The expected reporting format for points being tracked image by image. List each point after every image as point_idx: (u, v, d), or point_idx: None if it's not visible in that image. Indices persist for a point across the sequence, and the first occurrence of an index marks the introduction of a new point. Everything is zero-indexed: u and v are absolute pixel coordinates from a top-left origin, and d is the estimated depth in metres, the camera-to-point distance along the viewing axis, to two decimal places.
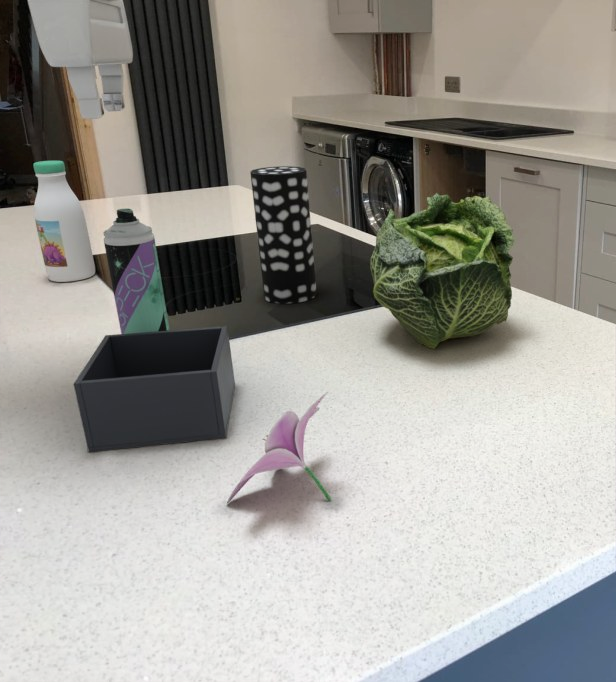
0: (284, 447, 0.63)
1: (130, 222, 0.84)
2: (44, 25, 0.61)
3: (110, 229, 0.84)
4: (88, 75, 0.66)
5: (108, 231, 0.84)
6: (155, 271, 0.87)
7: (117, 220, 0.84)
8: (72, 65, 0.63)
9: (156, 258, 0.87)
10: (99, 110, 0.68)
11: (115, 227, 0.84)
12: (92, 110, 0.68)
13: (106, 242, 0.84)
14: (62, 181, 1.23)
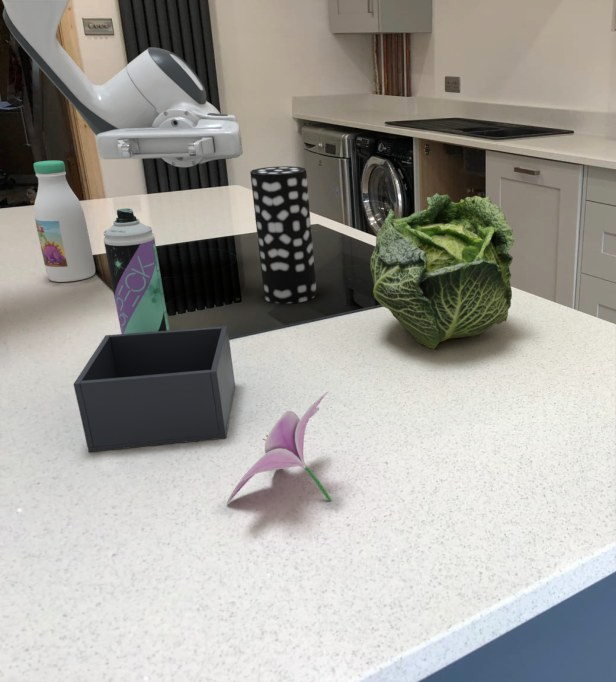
0: (284, 447, 0.63)
1: (130, 222, 0.84)
2: (239, 132, 1.10)
3: (110, 229, 0.84)
4: (213, 150, 1.06)
5: (108, 231, 0.84)
6: (155, 271, 0.87)
7: (117, 220, 0.84)
8: (234, 145, 1.07)
9: (156, 258, 0.87)
10: (200, 154, 1.03)
11: (115, 227, 0.84)
12: (200, 150, 1.03)
13: (106, 242, 0.84)
14: (62, 181, 1.23)
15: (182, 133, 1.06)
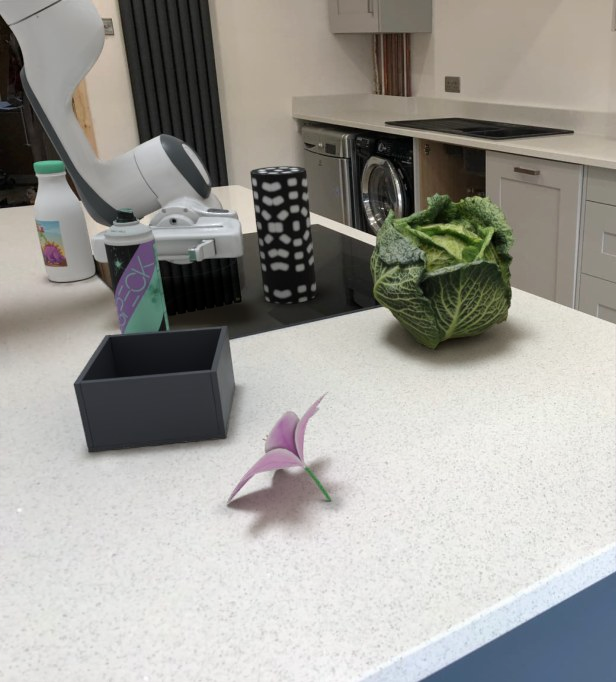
0: (284, 447, 0.63)
1: (130, 222, 0.84)
2: (241, 231, 1.05)
3: (110, 229, 0.84)
4: (214, 252, 1.02)
5: (108, 231, 0.84)
6: (155, 271, 0.87)
7: (117, 220, 0.84)
8: (236, 247, 1.03)
9: (156, 258, 0.87)
10: (201, 260, 0.99)
11: (115, 227, 0.84)
12: (201, 255, 0.99)
13: (106, 242, 0.84)
14: (62, 181, 1.23)
15: (182, 235, 1.01)
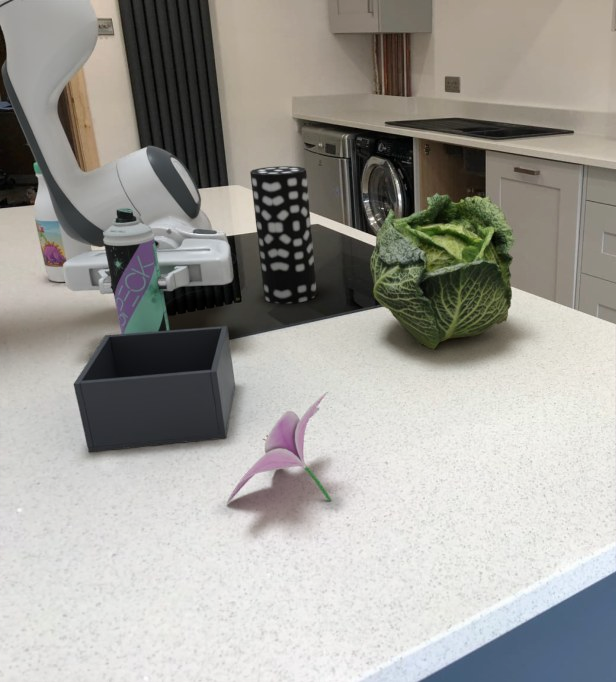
0: (284, 447, 0.63)
1: (130, 222, 0.84)
2: (230, 256, 0.95)
3: (110, 229, 0.84)
4: (187, 280, 0.92)
5: (108, 231, 0.84)
6: (155, 271, 0.87)
7: (117, 220, 0.84)
8: (224, 273, 0.93)
9: (156, 258, 0.87)
10: (172, 289, 0.89)
11: (115, 227, 0.84)
12: (172, 284, 0.88)
13: (106, 242, 0.84)
14: None
15: (163, 261, 0.91)
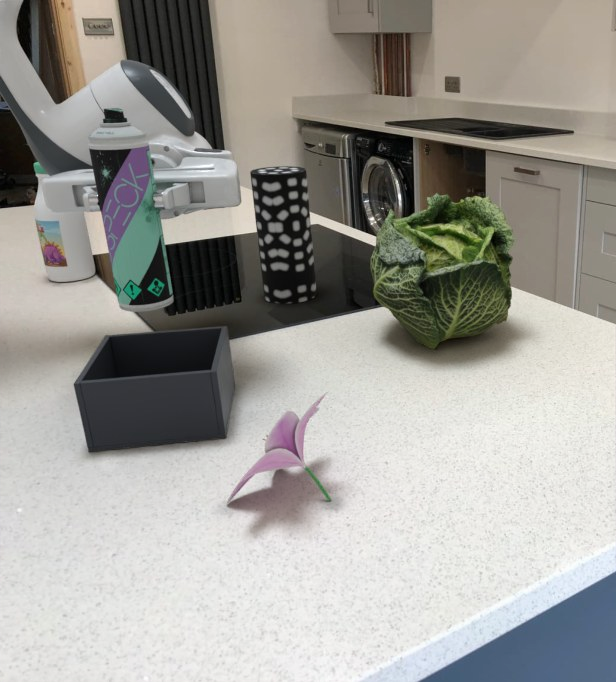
0: (284, 447, 0.63)
1: (120, 123, 0.71)
2: (238, 175, 0.82)
3: (96, 131, 0.71)
4: (188, 200, 0.78)
5: (93, 133, 0.71)
6: (150, 184, 0.73)
7: (104, 120, 0.71)
8: (231, 193, 0.79)
9: (151, 169, 0.74)
10: (171, 208, 0.75)
11: (102, 128, 0.71)
12: (170, 202, 0.75)
13: (91, 146, 0.71)
14: None
15: (160, 177, 0.78)
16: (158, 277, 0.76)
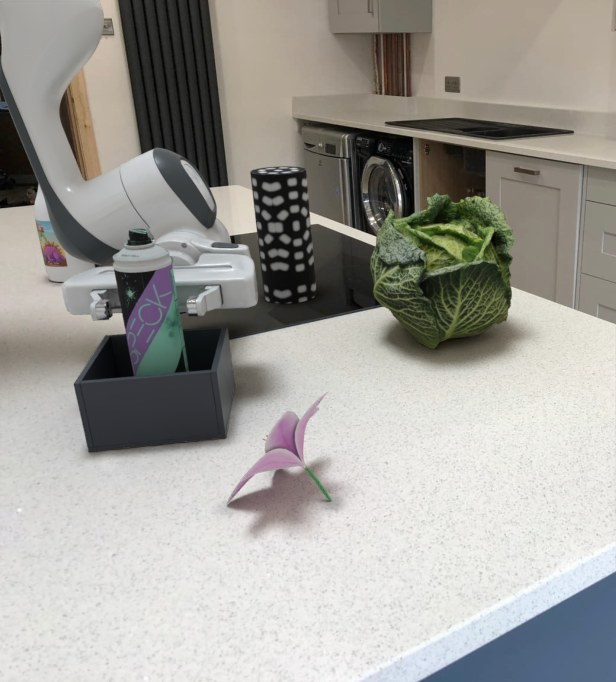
0: (284, 447, 0.63)
1: (144, 245, 0.72)
2: (255, 274, 0.82)
3: (121, 253, 0.72)
4: (220, 302, 0.79)
5: (118, 255, 0.72)
6: (173, 300, 0.75)
7: (129, 242, 0.72)
8: (248, 295, 0.80)
9: (174, 286, 0.75)
10: None
11: (127, 251, 0.72)
12: (203, 308, 0.76)
13: (116, 268, 0.72)
14: None
15: (179, 281, 0.79)
16: None
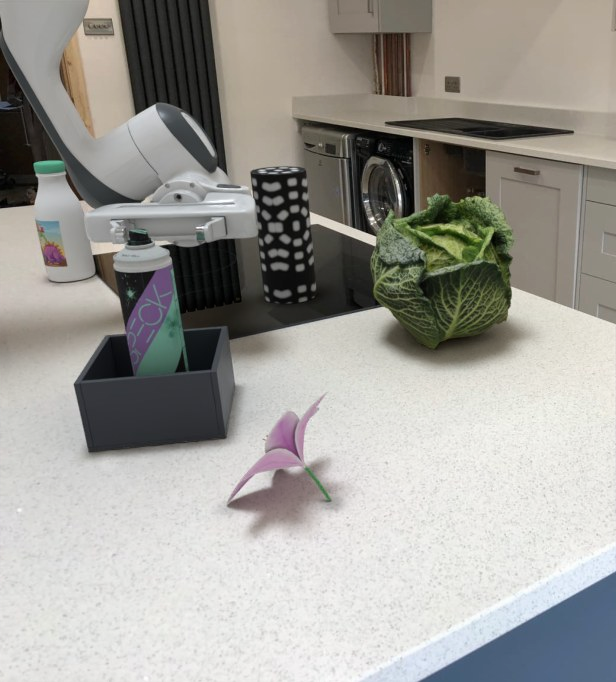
0: (284, 447, 0.63)
1: (144, 245, 0.72)
2: None
3: (121, 253, 0.72)
4: (224, 232, 0.89)
5: (119, 255, 0.72)
6: (173, 301, 0.75)
7: (129, 242, 0.72)
8: (250, 226, 0.90)
9: (174, 286, 0.75)
10: (210, 239, 0.86)
11: (127, 251, 0.72)
12: (210, 234, 0.86)
13: (116, 268, 0.72)
14: (62, 181, 1.23)
15: (188, 212, 0.88)
16: None
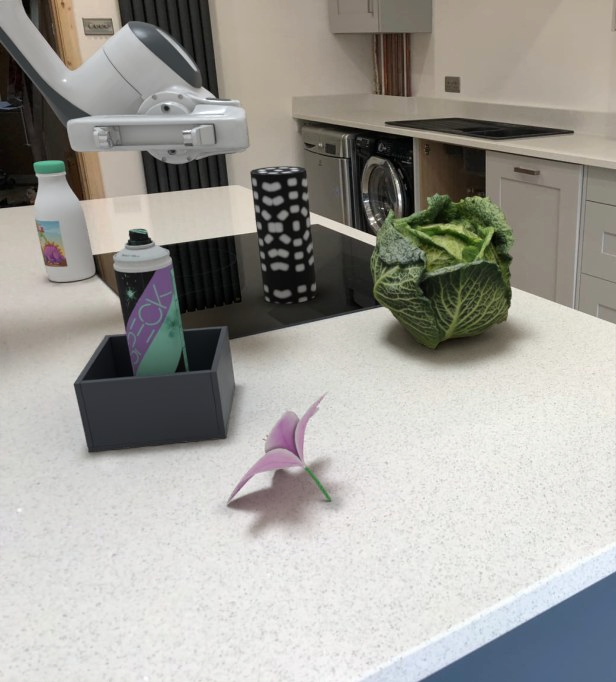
0: (284, 447, 0.63)
1: (144, 245, 0.72)
2: (246, 119, 0.89)
3: (121, 253, 0.72)
4: (213, 140, 0.85)
5: (119, 255, 0.72)
6: (173, 301, 0.75)
7: (129, 242, 0.72)
8: (240, 135, 0.86)
9: (174, 286, 0.75)
10: (198, 145, 0.82)
11: (127, 251, 0.72)
12: (198, 139, 0.82)
13: (116, 268, 0.72)
14: (62, 181, 1.23)
15: (175, 119, 0.85)
16: None
